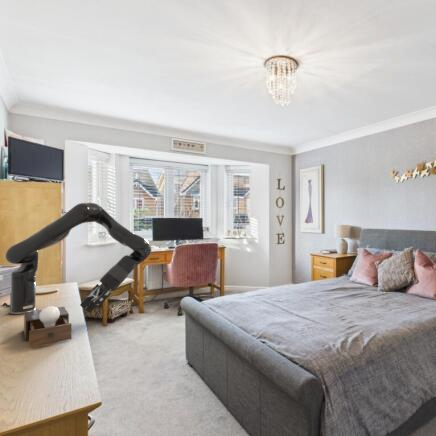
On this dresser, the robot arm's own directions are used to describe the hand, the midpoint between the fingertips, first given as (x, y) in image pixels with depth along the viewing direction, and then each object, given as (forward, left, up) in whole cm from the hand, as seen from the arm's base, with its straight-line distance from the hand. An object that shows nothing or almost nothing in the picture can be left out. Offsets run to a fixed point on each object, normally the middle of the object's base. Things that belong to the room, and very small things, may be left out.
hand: (84, 309), depth 130 cm
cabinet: (-15, -5, -10) cm, 19 cm away
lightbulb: (-5, -11, -8) cm, 14 cm away
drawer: (-4, -11, -9) cm, 15 cm away
